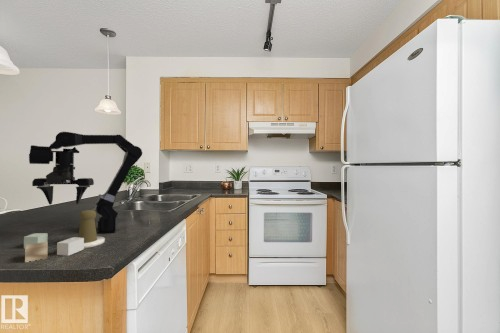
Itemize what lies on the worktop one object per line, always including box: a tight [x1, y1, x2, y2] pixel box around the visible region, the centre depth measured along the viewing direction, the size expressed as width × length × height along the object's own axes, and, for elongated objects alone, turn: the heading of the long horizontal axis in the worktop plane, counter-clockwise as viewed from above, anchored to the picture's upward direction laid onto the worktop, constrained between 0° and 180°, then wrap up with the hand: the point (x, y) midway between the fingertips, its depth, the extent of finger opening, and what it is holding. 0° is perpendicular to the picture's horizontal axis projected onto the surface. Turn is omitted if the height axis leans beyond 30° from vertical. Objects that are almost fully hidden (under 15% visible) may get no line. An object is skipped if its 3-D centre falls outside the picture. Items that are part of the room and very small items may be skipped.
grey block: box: [56, 236, 85, 256], centre depth 79 cm, size 6×4×4 cm, turn 173°
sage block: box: [23, 232, 49, 249], centre depth 85 cm, size 4×4×4 cm
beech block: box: [24, 241, 49, 263], centre depth 74 cm, size 5×5×4 cm
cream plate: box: [84, 235, 106, 249], centre depth 88 cm, size 11×11×1 cm
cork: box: [77, 209, 98, 243], centre depth 88 cm, size 6×6×11 cm
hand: (64, 204), depth 95 cm, fingers open, 9 cm apart
